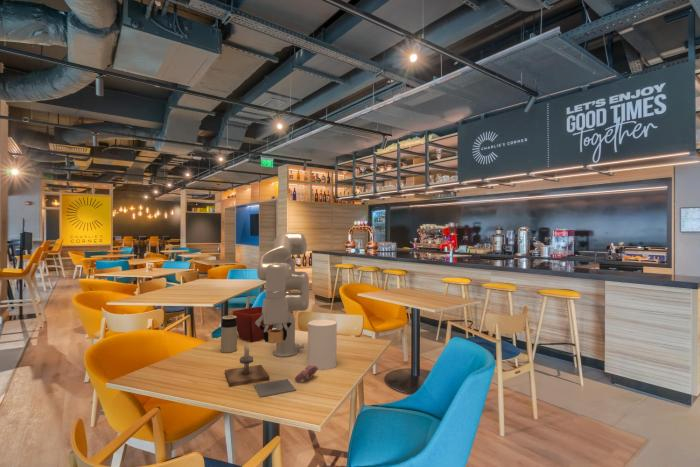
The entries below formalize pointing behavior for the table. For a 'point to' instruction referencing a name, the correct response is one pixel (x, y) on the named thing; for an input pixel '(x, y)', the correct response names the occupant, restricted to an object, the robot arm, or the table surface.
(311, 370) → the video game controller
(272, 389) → the rubber mat
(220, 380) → the table surface
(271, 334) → the wooden ring
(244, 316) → the plant pot
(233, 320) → the travel mug
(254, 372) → the post stand
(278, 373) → the table surface
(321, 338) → the canister
